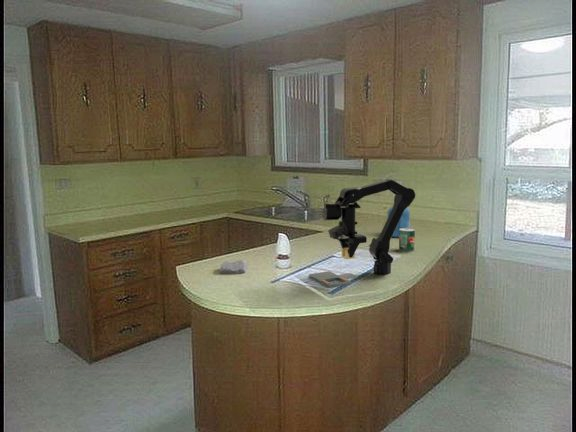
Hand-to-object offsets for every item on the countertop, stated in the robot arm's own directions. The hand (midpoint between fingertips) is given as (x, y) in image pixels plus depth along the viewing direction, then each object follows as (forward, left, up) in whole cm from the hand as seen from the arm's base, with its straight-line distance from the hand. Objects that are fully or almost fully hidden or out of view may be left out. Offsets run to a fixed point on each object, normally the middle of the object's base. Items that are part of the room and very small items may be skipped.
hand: (348, 256), depth 195 cm
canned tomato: (-53, -29, -10) cm, 61 cm away
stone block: (+39, -33, -10) cm, 52 cm away
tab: (0, 0, -9) cm, 9 cm away
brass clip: (0, 0, -1) cm, 1 cm away
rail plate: (+10, +2, -9) cm, 14 cm away
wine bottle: (-72, -61, -10) cm, 95 cm away
